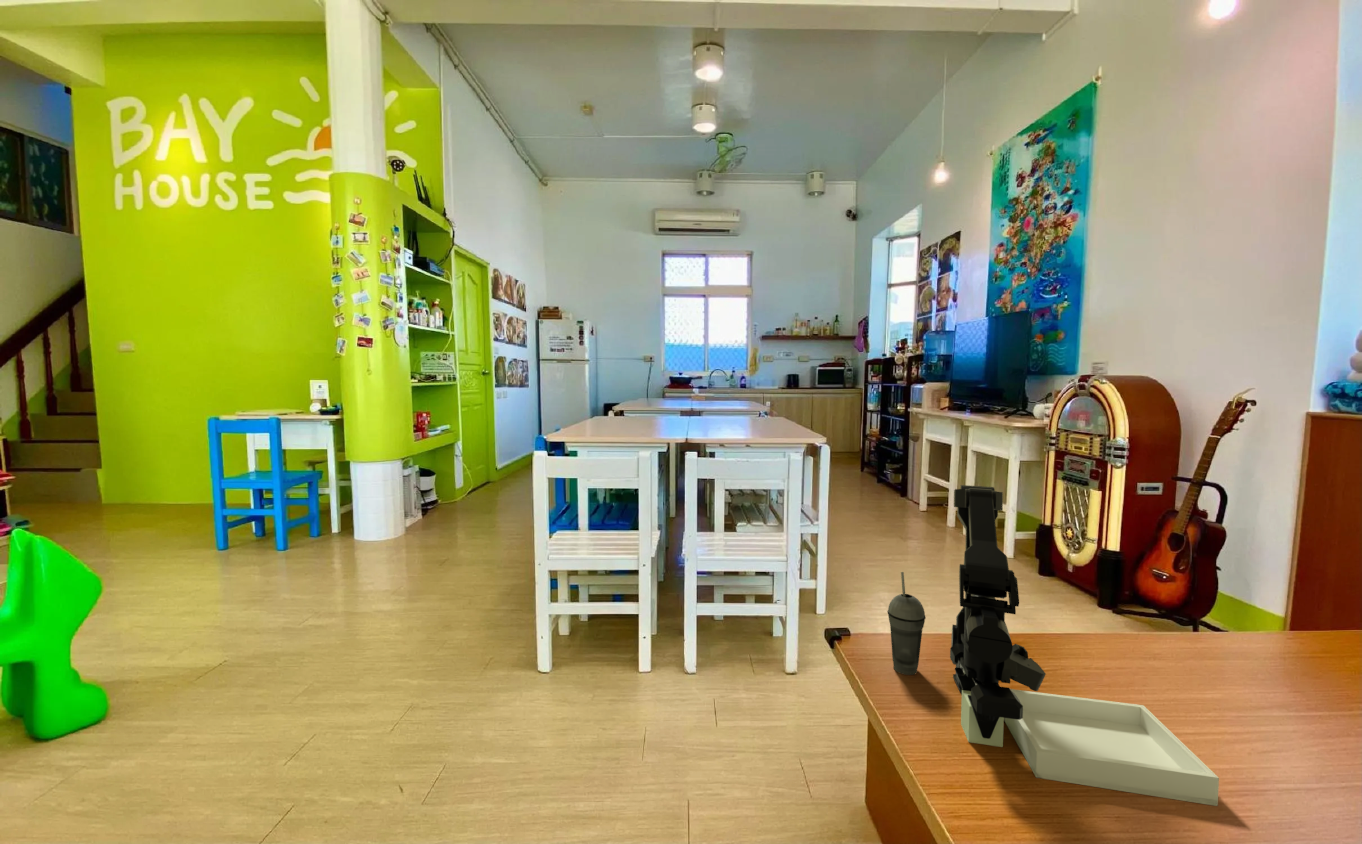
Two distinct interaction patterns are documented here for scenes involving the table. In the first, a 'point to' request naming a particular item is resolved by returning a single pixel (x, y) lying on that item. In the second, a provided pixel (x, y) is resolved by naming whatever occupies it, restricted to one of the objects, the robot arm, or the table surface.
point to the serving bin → (1108, 748)
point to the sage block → (972, 727)
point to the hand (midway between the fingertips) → (981, 728)
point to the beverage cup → (906, 631)
